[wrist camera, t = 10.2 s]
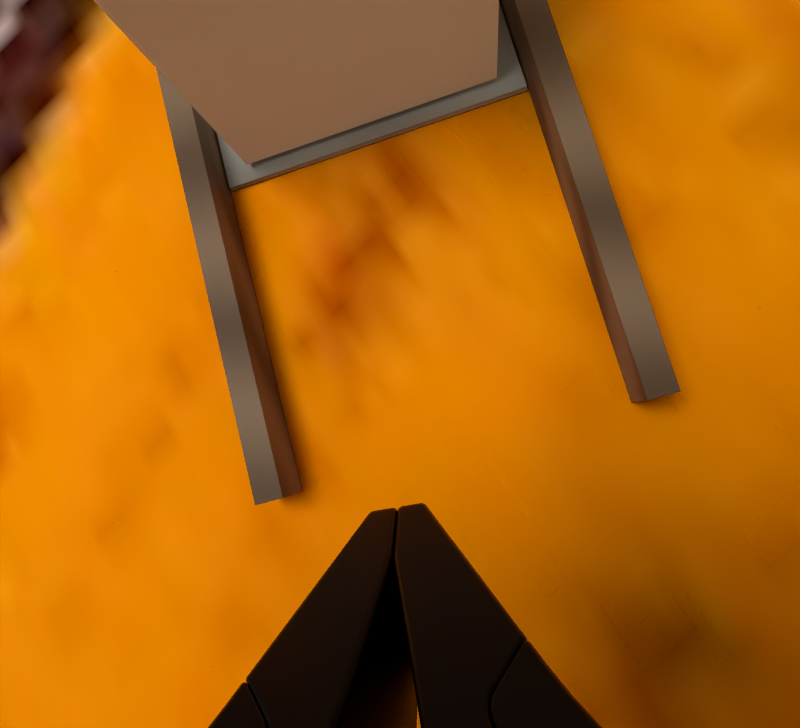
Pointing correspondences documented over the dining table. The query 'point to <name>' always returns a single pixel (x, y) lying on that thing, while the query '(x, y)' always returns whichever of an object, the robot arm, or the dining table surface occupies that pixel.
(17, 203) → the dining table surface
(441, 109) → the walnut bay
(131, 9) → the cream crate
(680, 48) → the dining table surface
